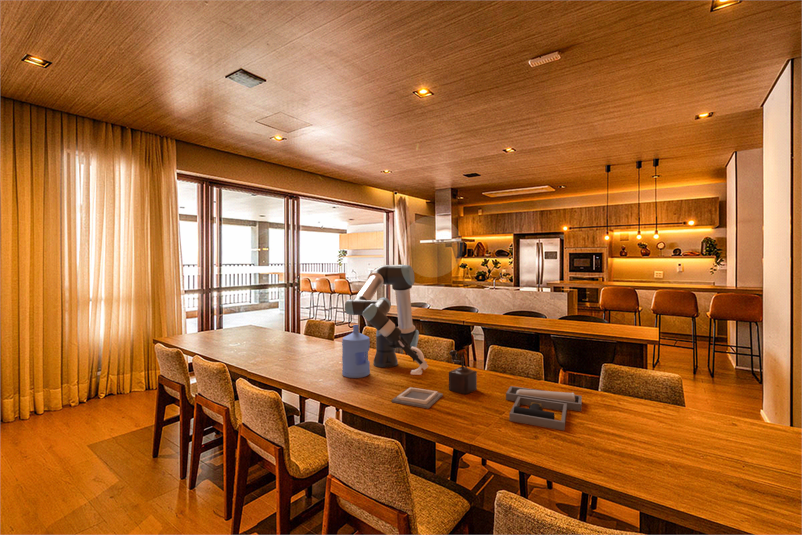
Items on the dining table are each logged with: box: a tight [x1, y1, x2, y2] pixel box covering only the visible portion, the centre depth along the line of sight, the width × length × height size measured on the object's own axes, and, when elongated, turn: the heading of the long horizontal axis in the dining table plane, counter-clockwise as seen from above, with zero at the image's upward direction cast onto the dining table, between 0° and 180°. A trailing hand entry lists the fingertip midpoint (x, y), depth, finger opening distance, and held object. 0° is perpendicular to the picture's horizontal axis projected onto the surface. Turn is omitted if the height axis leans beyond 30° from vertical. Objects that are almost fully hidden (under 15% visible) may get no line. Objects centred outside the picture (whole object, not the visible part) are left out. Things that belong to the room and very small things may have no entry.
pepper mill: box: [448, 349, 478, 395], centre depth 189 cm, size 16×11×18 cm
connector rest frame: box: [508, 396, 568, 431], centre depth 155 cm, size 21×20×3 cm
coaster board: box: [391, 386, 444, 409], centre depth 175 cm, size 18×18×2 cm
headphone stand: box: [410, 346, 425, 376], centre depth 175 cm, size 5×6×12 cm
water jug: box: [341, 324, 371, 379], centre depth 214 cm, size 16×16×28 cm
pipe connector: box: [514, 402, 556, 420], centre depth 153 cm, size 12×5×15 cm
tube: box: [516, 389, 576, 403], centre depth 171 cm, size 5×5×25 cm
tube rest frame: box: [505, 385, 583, 412], centre depth 172 cm, size 11×31×3 cm, turn 64°
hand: (425, 366), depth 175 cm, fingers closed on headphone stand, 5 cm apart
